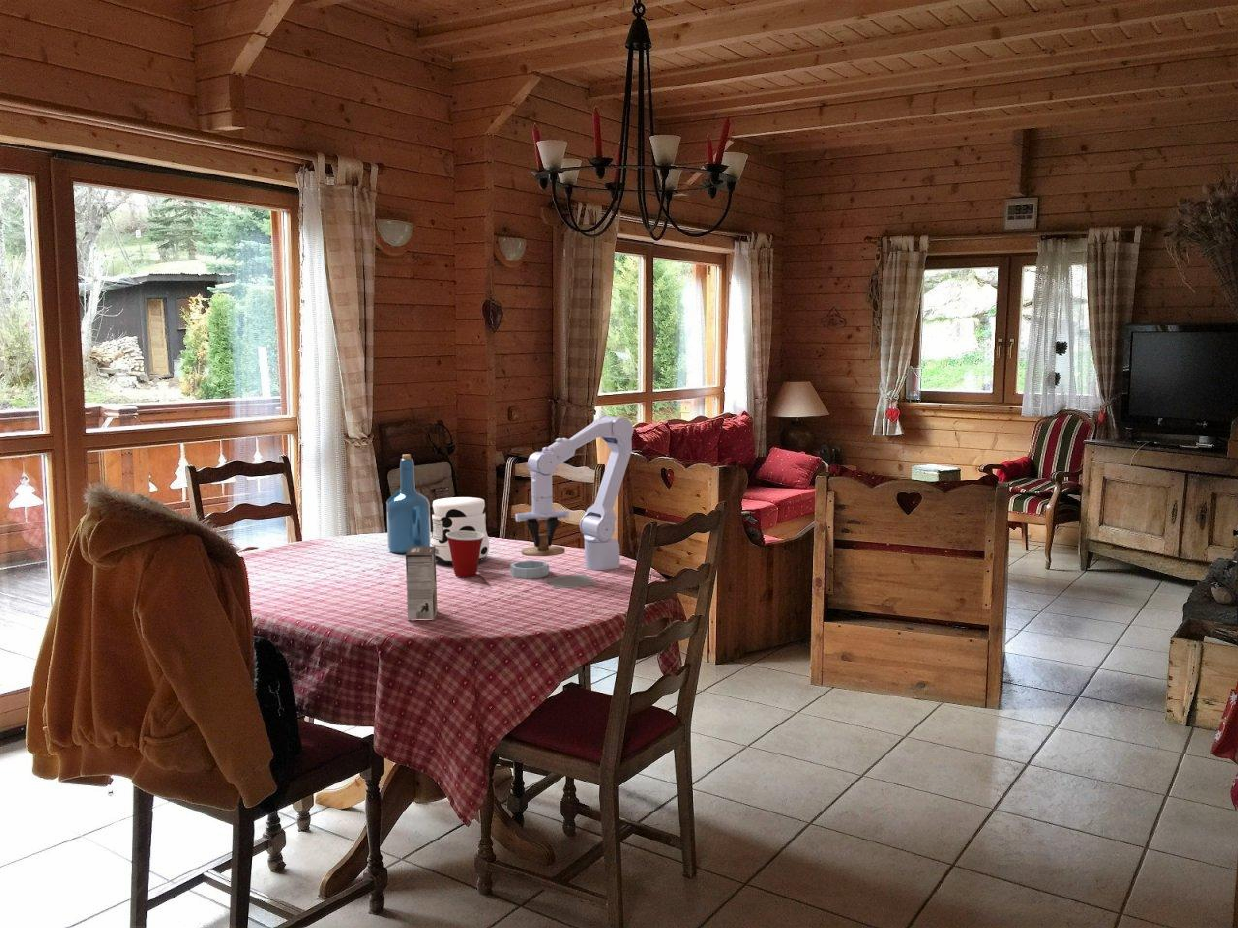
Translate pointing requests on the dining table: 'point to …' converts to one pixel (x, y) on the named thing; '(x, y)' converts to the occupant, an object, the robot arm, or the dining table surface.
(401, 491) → the wine bottle
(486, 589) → the dining table surface
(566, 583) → the mat
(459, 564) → the plastic cup
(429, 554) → the coffee box
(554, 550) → the lid
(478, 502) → the white black patterned jar
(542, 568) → the bowl
